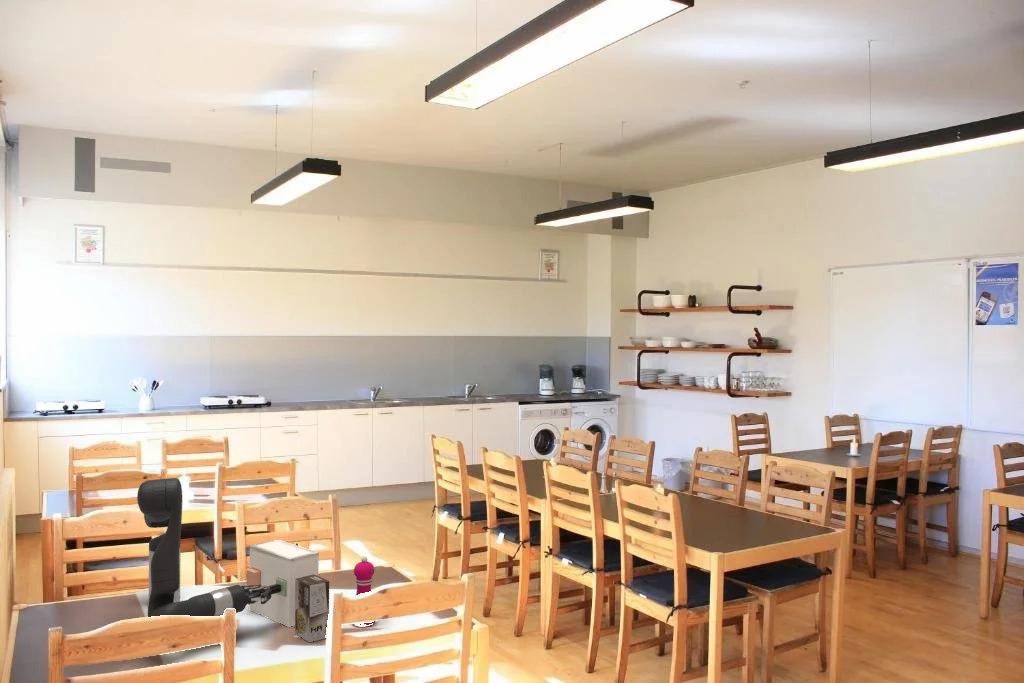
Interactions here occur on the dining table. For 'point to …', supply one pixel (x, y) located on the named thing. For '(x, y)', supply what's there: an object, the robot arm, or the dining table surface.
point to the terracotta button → (253, 577)
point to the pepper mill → (364, 577)
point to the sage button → (282, 586)
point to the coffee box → (311, 607)
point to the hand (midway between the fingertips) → (279, 587)
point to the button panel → (281, 575)
